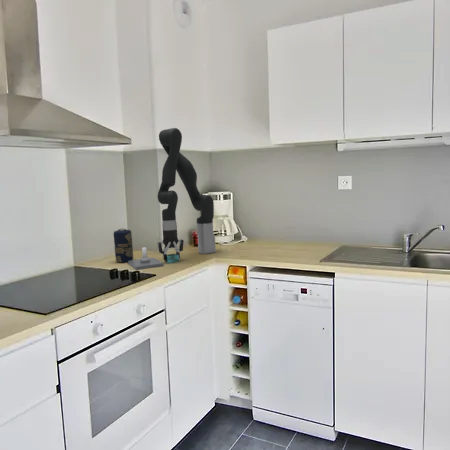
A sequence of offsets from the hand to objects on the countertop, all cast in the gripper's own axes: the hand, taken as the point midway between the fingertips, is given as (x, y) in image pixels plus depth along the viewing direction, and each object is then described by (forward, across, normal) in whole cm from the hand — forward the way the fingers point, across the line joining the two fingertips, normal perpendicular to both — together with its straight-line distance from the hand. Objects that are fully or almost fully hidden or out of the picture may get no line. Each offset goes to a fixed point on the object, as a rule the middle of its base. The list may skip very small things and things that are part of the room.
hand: (171, 260), depth 223 cm
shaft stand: (+1, +14, -1) cm, 14 cm away
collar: (+1, 0, 0) cm, 1 cm away
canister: (+1, +21, -18) cm, 28 cm away
